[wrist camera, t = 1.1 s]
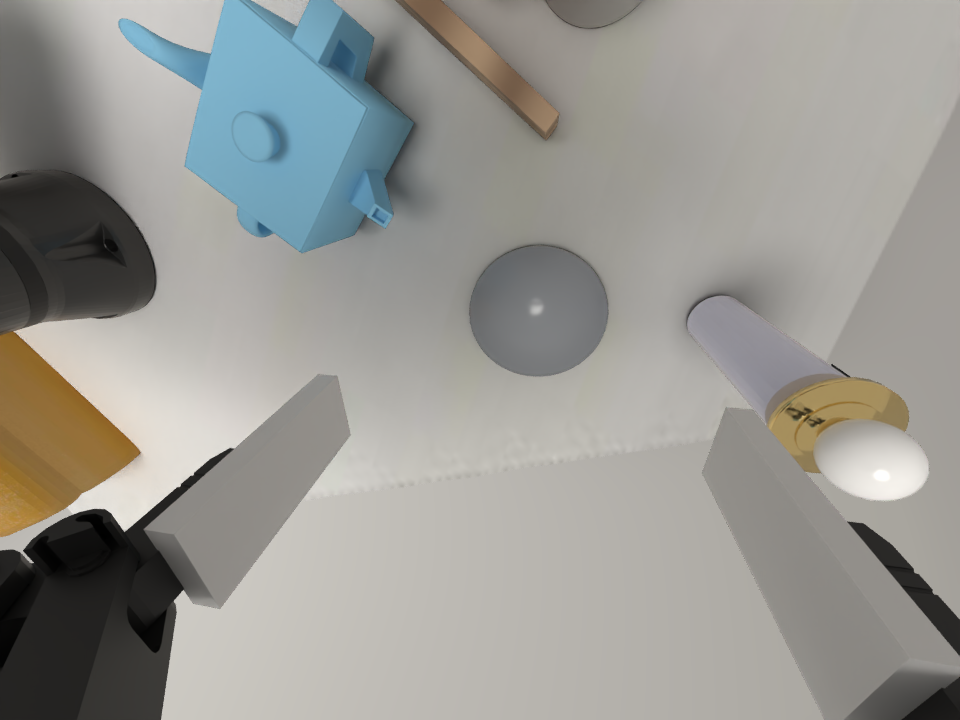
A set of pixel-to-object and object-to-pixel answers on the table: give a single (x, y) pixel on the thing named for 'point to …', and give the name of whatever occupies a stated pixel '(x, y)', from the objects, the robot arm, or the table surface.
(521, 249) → the grey saucer
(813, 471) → the perfume bottle
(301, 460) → the robot arm
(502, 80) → the three-sided wooden frame
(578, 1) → the mug
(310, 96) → the teapot
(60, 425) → the bread
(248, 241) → the table surface
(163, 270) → the table surface
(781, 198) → the table surface
